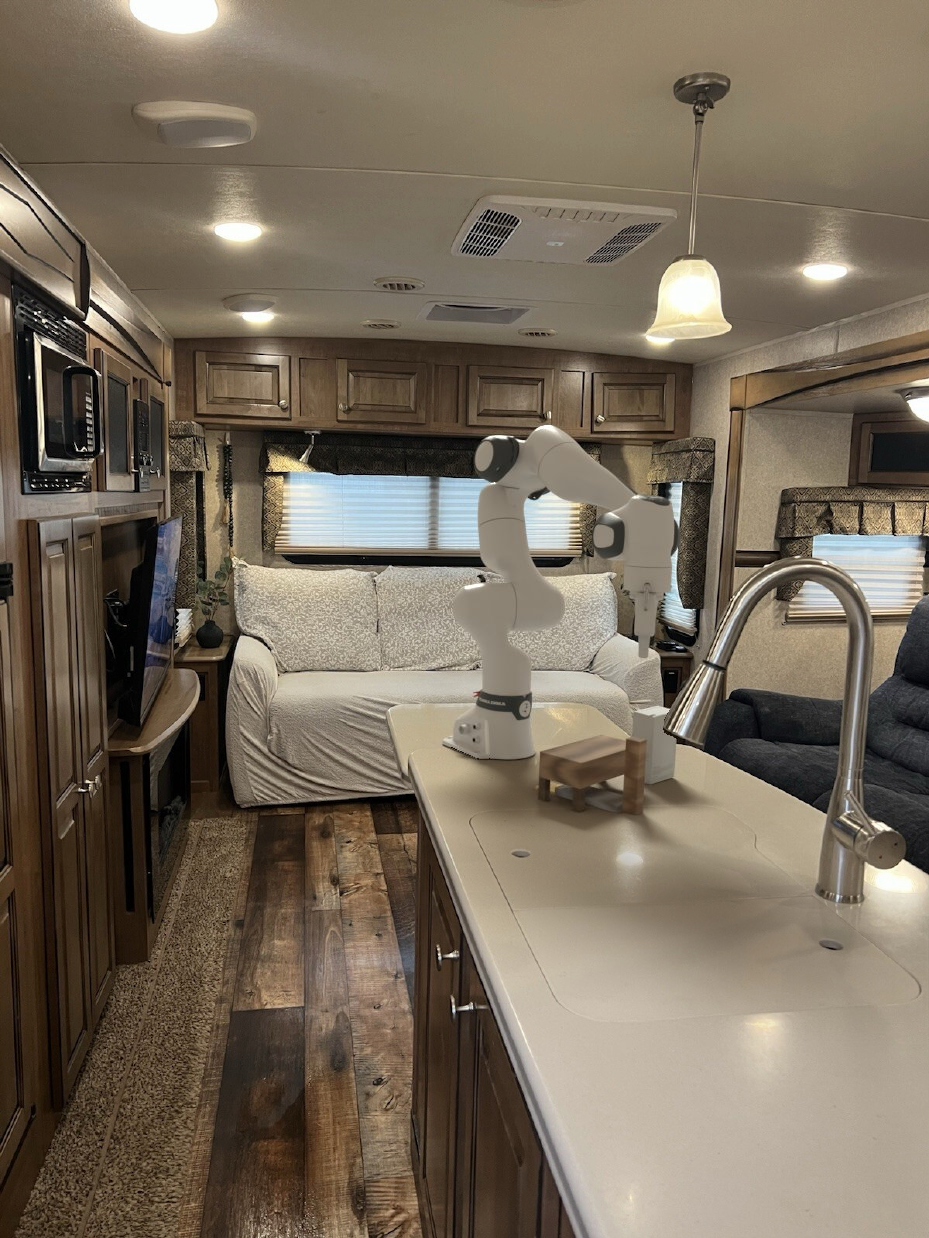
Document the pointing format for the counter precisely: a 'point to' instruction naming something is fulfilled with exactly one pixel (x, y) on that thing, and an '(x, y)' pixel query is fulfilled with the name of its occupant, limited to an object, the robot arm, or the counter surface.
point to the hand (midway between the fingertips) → (643, 653)
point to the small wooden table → (581, 766)
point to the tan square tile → (551, 787)
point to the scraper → (631, 788)
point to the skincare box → (655, 743)
